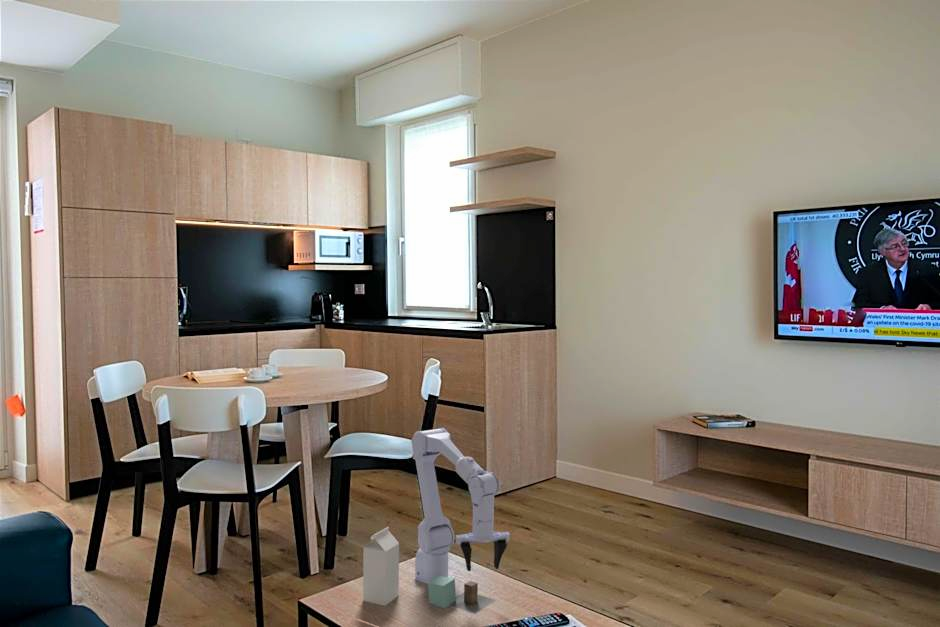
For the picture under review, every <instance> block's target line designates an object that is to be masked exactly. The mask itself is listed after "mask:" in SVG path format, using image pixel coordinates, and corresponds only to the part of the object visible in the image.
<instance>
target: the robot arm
mask: <svg viewBox="0 0 940 627" xmlns="http://www.w3.org/2000/svg"><path fill="white" fill-rule="evenodd" d="M451 438H452V437H451V434H450V432H448V431H447V429H445V428H444V427H439V428H437V429H436V428H434V429H427V430H417V431H415V433H414V434H413V436H412V437H411V441H410V442H411V448H412V454H413V460H414V461H415V466H416V471H417V477H418V485H419V491H420V497H421V498H420V499H421V503H422V505H421V506H422V509H423V517H424V518H423V520H421V522H420V523H419V524H418V526H417V532H418V533H417V545H418V546H419V548H418V550H417V551H416V554H415V560H414V561H415V562H414V568H415V569H414V577H413V580H414V581H418V582H421V583H424V584H427V585H428V582H430V581H431V580H433V579H435V578H436V577H438V576H444V577H448V578H453V579H455V576H451V575H449V551H450V550H451V546H453V544H454V542H455V544H456V545H458V546H460V548H461V550H462V551H461V552H462V554H463V557H464V559H465V560H464V561H465V565H466V570H467V572H471V570H472V564H471V563H472V562H471V560H472V547H471V544H478V543H484V544H485V543H490V542H491V543H492V542H493V551H494V554H493V555H494V556H493V567H494V569H495V570H498V569H499V566H500V564H501V559H502V557H503V554H504V553H505V551H506V549H507V546H508V543H507V542H510V540H511V537H510V536H511V535H510V533H509V532H508V531H505V532H504V531H494V527H495V526H494V524H495V519H494V518H495V515H494V514H495V494H496V493H497V492H499V487H500V482H499V479H498V477H497V475H496V474H495V473H494V472H492V471H487V470H484V469H483V468H482V467H481V466H480V465H479V464H478V463H477V462H476V461H475V459H474V458H473V457H472V456H465V455H463V453H462V452H461V451H460V450H459V449H458V447H457V446H456V445H455V444H454V442H452V440H451ZM440 455H443V457H445V458H446V459H448V461H449V462H451V463H452V464H453V465H454V466H455V468H454V469H455V472H456V474H458V475H459V477H460V478H461V479H462V480H463V481H464V482H465V483H466V484H467V486H468V491H469V493H470V500H471V503H472V532H468V533H465V534H464V533H463V534H458V535H457V534H456V535H455V532H454V529H453V527H452V525H451V520H450V519H449V518H447V517H446V516H445V515H443V511H442V506H441V504H442V503H441V498H440V491H439V486H438V480H437V474H436V469H435V460H436V458H437V457H438V456H440Z"/></svg>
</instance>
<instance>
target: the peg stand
mask: <svg viewBox="0 0 940 627" xmlns="http://www.w3.org/2000/svg"><path fill="white" fill-rule="evenodd" d="M463 584H464V586H463V592H462V593H460V594H459V595H456V601H455V602H454V603H452V604H451V605H450V606H452V607H455V608H458V609H461V610H462V611H463V610H464V611H466V612H469V613H473V614H477V613H479V612H480V611H482V610H483V609H485V608H486V607H488V606H490V605H492V604H493V603H494V602H496V600H497V599H494V598H491V597H487V596H485V595H481V594H478V590H479V588H478V584H479V583H478V582H476V581H472V580H468V581H466V582H465V583H463Z"/></svg>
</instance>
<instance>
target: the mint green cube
mask: <svg viewBox="0 0 940 627" xmlns="http://www.w3.org/2000/svg"><path fill="white" fill-rule="evenodd" d="M427 587H428V588H427V589H428V603H429V604H430V605H434V606H437V607H439V608H443V609H446V608H448V607H449V606H451V604H452V603H454V602H455V601H456V597H457V594H456V579H455V578H454V579H453V578H448V577H444V576H438V577H436V578H435V579H433V580H431V581H430V582H428V584H427Z"/></svg>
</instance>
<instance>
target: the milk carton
mask: <svg viewBox="0 0 940 627" xmlns="http://www.w3.org/2000/svg"><path fill="white" fill-rule="evenodd" d="M369 538H370V540H371V541H369V542H368V543H367V544H366V545H364V546H363V554H362V555H363V562H362V565H363V566H362V567H363V568H362V573H363V574H362V575H363V576H362V577H363V578H362V588H363V590H362V600H363V601H364V602H367V603H371V604H376V605H379V606H387V605H388V604H389V603H391V602H392V601H394V600H395V599H396V598H397V597H399V594H400V593H399V589H400V588H399V587H400V586H399V584H400V582H399V581H400V574H399V573H400V568H399V567H400V543H399V541H398V540H397V539H396V538H395V537H394V535H393V534H392V533H391V532H390V528H389V526H387V527H385V528H383V529H382V530H380V531H378V532H376V533H374V534H373V535H372V536H370V537H369Z"/></svg>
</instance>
